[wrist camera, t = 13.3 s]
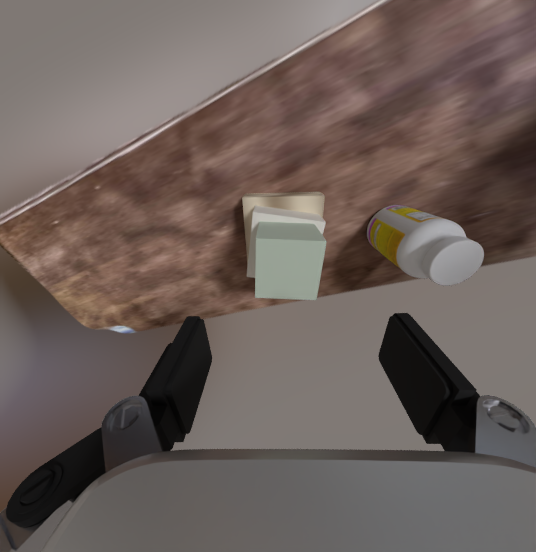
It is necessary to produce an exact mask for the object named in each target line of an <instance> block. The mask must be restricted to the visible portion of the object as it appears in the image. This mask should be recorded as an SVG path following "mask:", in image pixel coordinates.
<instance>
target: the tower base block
mask: <svg viewBox="0 0 536 552" xmlns="http://www.w3.org/2000/svg"><path fill="white" fill-rule="evenodd" d="M324 198H325V195H323V194H322V193H320V192H292V193H255V194H245V195H244V196H243V197H242V201H243V214H244V226H245V239H246V252H247V264H248V257H249V247H250V237H251V227H252V217H253V210H254V208H255V205H258V206H265V207H272V208H279V209H286V210H293V211H300V212H307V213H314V214H319V215H320V216H321V217H322V218H323V208H324Z"/></svg>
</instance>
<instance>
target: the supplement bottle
mask: <svg viewBox="0 0 536 552" xmlns="http://www.w3.org/2000/svg"><path fill="white" fill-rule="evenodd" d="M367 238H368V241H369V243H370V244H371V245H372V246H373V247H374V248H375V249H376V250H378V251H379V252H380V253H381V254H382V255H384V256H385V257H386V258H387V259H389V260H390V261H391V262H392V263H394V264H395V265H396V266H397V267H399V268H400V269H401V270H402V271H404V272H405V273H407V274H408V275H410V276H413V277H416V278H429V279H431V280H432V281H433V282H435V283H437V284H439V285H445V286H450V285H455V284H458V283H461V282H463V281H465V280H467V279H468V278H470V277H471V276H472V275H473V274H474V273H475V272H476V271H477V270H478V269H479V268H480V266H481V264H482V262H483V258H484V251H483V248H482V247H481V245H480V244H478V243H477V242H475V241H473V240H470V239H468V238H466V234H465V232H464V230H463V229H462V227H461V226H459V225H458V224H457V223H455V222H453V221H450V220H447V219H444V218H441V217H438V216H434V215H431V214H428V213H425V212H422V211H419V210H416V209H413V208H409V207H406V206H402V205H392V206H388V207H385V208H383V209H382V210H380V211H379V212H377V213H376V214H375V215H374V216H373V218H372V219H371V221H370V222H369V225H368V228H367Z"/></svg>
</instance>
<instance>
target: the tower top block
mask: <svg viewBox="0 0 536 552" xmlns="http://www.w3.org/2000/svg"><path fill="white" fill-rule="evenodd" d="M260 221H263V222H286V223H310V224H315V225H316V227H317V228H318V230H319V231H320V233H321V234H322V235H323V231H324V227H325V223H326V222H325V221H324V220H323V218H322V217H321V216H320V215H319V214H314V213H307V212H300V211H293V210H286V209H279V208H272V207H265V206H258V205H255V208H254V210H253V217H252V227H251V237H250V247H249V257H248V267H247V277H252V278H255V269H256V236H257V231H258V226H259V222H260Z"/></svg>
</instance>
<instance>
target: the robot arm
mask: <svg viewBox="0 0 536 552" xmlns="http://www.w3.org/2000/svg"><path fill="white" fill-rule="evenodd" d="M379 361H380V363H381V365H382V367H383V369H384V371H385V373H386V374H387V376H388V378H389V380H390V382H391V384H392V385H393V387H394V389H395V391H396V393H397V395H398V397H399V399H400V401H401V403H402V405H403V406H404V408H405V410H406V412H407V414H408V416H409V418H410V420H411V421H412V423H413V425H414V427H415V429H416V431H417V432H418V433H419V434H420V435H422V436H423V438H424V439H425V441H426V443H427V444H441V445H442V447H443V449H444V450H445V451H412V450H411V451H410V450H409V451H408V450H329V449H328V450H326V449H324V450H323V449H318V450H317V449H200V450H199V449H198V450H176V451H170V450H171V449H172V448H173V445H174V442H183V441H184V438H185V435H186V434H188V433H190V430H191V428H192V424H193V421H194V418H195V415H196V411H197V408H198V405H199V402H200V398H201V395H202V392H203V389H204V385H205V382H206V379H207V376H208V372H209V369H210V366H211V362H212V355H211V350H210V346H209V341H208V337H207V333H206V328H205V324H204V320H203V319H200V317H199V316H188V317H187V318H186V319H185V321H184V323H183V325H182V326H181V328H180V330H179V332H178V334H177V335H176V337H175V339H174V341H173V343H170V344H168V346H167V347H166V349H165V351H164V352H163V354H162V356H161V358H160V359H159V361H158V363H157V365H156V366H155V368H154V370H153V372H152V373H151V375H150V377H149V378H148V380H147V382H146V384H145V386H144V387H143V389H142V391H141V393H140V394H139V396H131V397H127V398H125V399H123V400H121V401H120V402H118V403H117V404H115V405H114V406H113V407H112V408H111V409H110V410H109V411H108V413H107V414H106V415H105V417H104V419H103V421H102V427H101V428H99V429H97V430H96V431H94V432H93V433H91V434H90V435H88V436H87V437H85V438H84V439H82V440H81V441H79V442H77V443H76V444H74V445H73V446H71V447H70V448H68V449H67V450H65V451H64V452H62V453H61V454H59V455H57V456H56V457H55V458H53V459H51V460H50V461H48V462H47V463H45V464H44V465H42V466H40V467H39V468H38V469H36V470H35V471H34V472H32V473H31V474H30V475H29V476H28V477H27V478H26V479H25V480H24V481H23V482H22V483H21V484H20V485H19V487H18V488H17V489H16V490H15V492H14V493H13V495H12V497H11V499H10V500H9V502H8V505H7V507H6V508H5V509H4V510H3V511H2V512H1V513H0V552H536V427H535V425H534V423H533V422H532V421H531V419H530V418H529V417H528V416H527V415H526V414H525V413H524V412H523V411H521V410H520V409H519V408H517V407H516V406H514V405H513V404H511V403H509V402H508V401H506V400H504V399H501V398H498V397H495V396H490V395H484V396H479V394H478V393H477V392H476V389H475V388H474V387H473V385H472V384H471V383H470V382H469V381H468V380H467V379H466V378H465V376H464V375H463V374H462V373H461V372H460V371H459V370H458V368H457V367H456V366H455V365H454V364H453V363H452V362H451V361H450V359H449V358H448V357H447V356H446V355H445V354H444V353H443V352H442V351H441V349H440V348H439V347H438V346H437V345H436V344H435V343H434V341H432V339H431V338H430V337H429V336H428V335H427V334H426V333H425V332H424V330H423V329H422V328H421V327H420V326H419V325H418V324H417V322H416V321H415V320H414V319H413V318H412V317H411V316H410V315H409V314H408V313H395V314H394V315H393V316H391V317H390V318H389V321H388V325H387V328H386V331H385V335H384V338H383V342H382V345H381V348H380V352H379Z"/></svg>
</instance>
